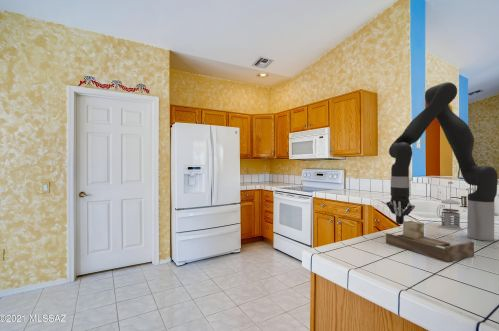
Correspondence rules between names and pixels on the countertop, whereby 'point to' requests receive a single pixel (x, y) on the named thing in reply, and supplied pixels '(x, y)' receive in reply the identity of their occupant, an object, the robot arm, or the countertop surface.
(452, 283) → the countertop surface
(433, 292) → the countertop surface
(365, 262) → the countertop surface
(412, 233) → the block
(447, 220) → the french press
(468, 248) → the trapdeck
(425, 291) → the countertop surface
